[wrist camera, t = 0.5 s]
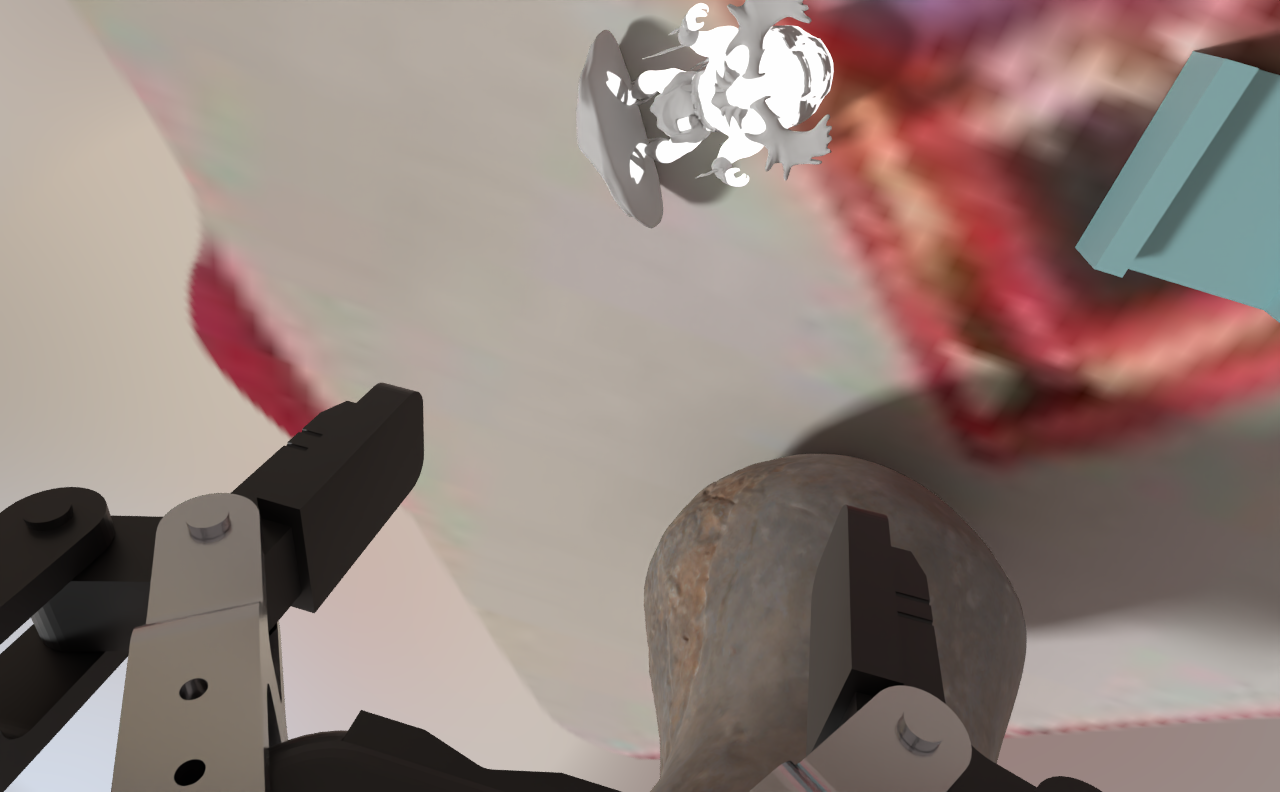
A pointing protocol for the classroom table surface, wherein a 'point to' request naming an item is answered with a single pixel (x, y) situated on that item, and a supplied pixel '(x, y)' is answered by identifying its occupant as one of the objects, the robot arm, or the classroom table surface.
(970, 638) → the vase
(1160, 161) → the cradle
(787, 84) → the figurine
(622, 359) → the classroom table surface
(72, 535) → the robot arm
